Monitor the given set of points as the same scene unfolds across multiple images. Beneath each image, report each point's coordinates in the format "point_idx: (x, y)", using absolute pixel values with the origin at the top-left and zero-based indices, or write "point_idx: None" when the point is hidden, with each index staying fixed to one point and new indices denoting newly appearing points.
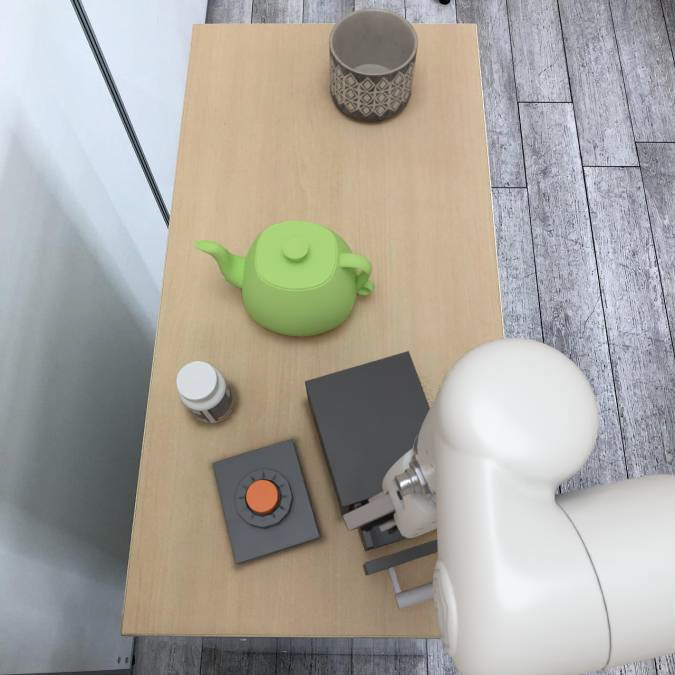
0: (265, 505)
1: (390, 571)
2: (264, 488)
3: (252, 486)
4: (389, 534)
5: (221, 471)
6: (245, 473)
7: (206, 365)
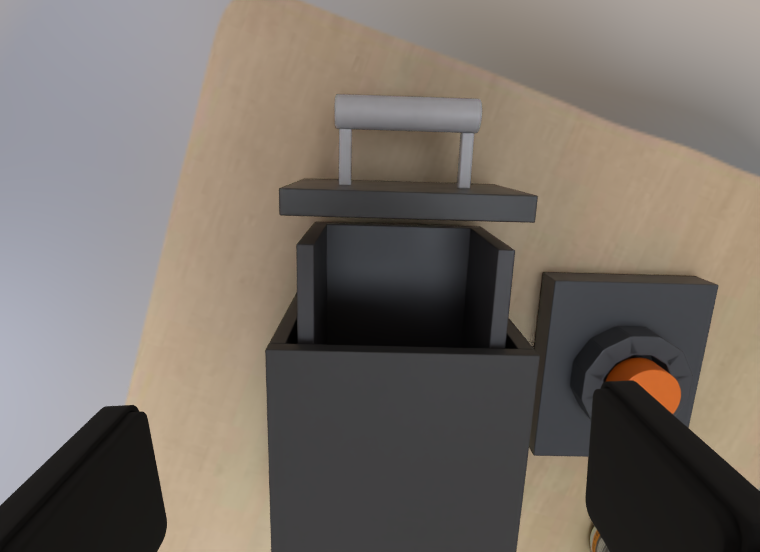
0: (651, 380)
1: (468, 180)
2: None
3: None
4: (633, 380)
5: None
6: None
7: None
